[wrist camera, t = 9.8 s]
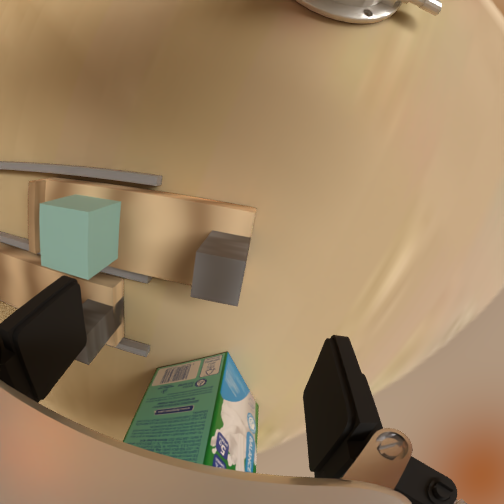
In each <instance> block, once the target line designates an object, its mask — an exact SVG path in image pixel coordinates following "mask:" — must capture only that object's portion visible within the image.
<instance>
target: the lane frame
mask: <svg viewBox="0 0 504 504" xmlns="http://www.w3.org/2000/svg"><path fill="white" fill-rule="evenodd" d="M0 169H7V170H21V171H34V172H45V173H56V174H66V175H75V176H84V177H93V178H101V179H109V180H117V181H125V182H132V183H139V184H146V185H153V186H158V185H161V182H162V176H161V175H153V174H146V173H138V172H130V171H122V170H113V169H104V168H94V167H84V166H72V165H60V164H46V163H29V162H6V161H0ZM0 242H3V243H6V244H9V245H12V246H15V247H18V248H21V249H24V250H27V251H29V240H28V239H25V238H21V237H18V236H14V235H11V234H8V233H4V232H1V231H0ZM37 254H40V255H41V253H40V252H39V253H37ZM100 272H104V273H107V274H111V275H115V276H119V277H123V278H127V279H131V280H135V281H139V282H143V283H148V282H149V281H150V280H151V279H152V277H151V276H147V275H143V274H139V273H134V272H130V271H126V270H122V269H118V268H114V267H110V266H107V267H105V268H104V269H102V270H101V271H100ZM1 301H2V300H1ZM3 302H4V301H3ZM5 303H6V302H5ZM7 304H8V303H7ZM9 305H10V304H9ZM11 306H12V305H11ZM13 307H14V306H13ZM15 308H16V307H15ZM17 309H18V308H17ZM106 345H107V344H106ZM109 346H110V345H109ZM112 347H113V346H112ZM115 348H118V349H121V350H124V351H127V352H131V353H134V354H137V355H141V356H144V357H147V355H148V353H149V352H150V345H147V344H144V343H140V342H137V341H133V340H130V339H126V338H122V339H121V341H120V342H119V343H118V345H117V346H116V347H115Z"/></svg>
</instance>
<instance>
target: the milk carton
mask: <svg viewBox="0 0 504 504" xmlns="http://www.w3.org/2000/svg"><path fill="white" fill-rule="evenodd" d="M258 407H259V406H258V404H257V403H256V401H255V399H254V397H253V396H252V394H251V392H250V391H249V389H248V387H247V385H246V384H245V382H244V380H243V378H242V376H241V375H240V373H239V371H238V369H237V367H236V366H235V364H234V362H233V360H232V358H231V356H230V355H229V353H228V352H225V353H222V354H218V355H214V356H210V357H206V358H202V359H197V360H193V361H189V362H184V363H180V364H175V365H171V366H166V367H161V368H157V370H156V372H155V374H154V376H153V378H152V380H151V382H150V384H149V386H148V388H147V390H146V392H145V395H144V397H143V399H142V401H141V403H140V405H139V407H138V409H137V412H136V414H135V416H134V418H133V420H132V422H131V425H130V427H129V429H128V431H127V433H126V435H125V438H124V440H123V442H125V443H127V444H130V445H133V446H136V447H139V448H142V449H145V450H149V451H152V452H155V453H159V454H162V455H166V456H169V457H173V458H177V459H181V460H185V461H189V462H193V463H198V464H203V465H208V466H213V467H218V468H224V469H230V470H236V471H243V472H251V473H256V456H257V433H258Z"/></svg>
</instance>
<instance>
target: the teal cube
mask: <svg viewBox="0 0 504 504" xmlns="http://www.w3.org/2000/svg"><path fill="white" fill-rule="evenodd" d="M120 210H121V201H115V200H109V199H102V198H96V197H89V196H83V195H76V194H75V195H71V196H67V197H63V198H59V199H55V200H51V201H47V202H43V203H40V211H39V225H40V253H41V265H42V266H45V267H48V268H51V269H54V270H57V271H60V272H64V273H67V274H70V275H73V276H77V277H80V278H83V279H87V280H89V279H90V278H92V277H93V276H94V275H96V274H97V273H98V272H100V271H101V270H102V269H104V268H105V267H107V266H108V265H109V264H111V263H112V262H113V261H115V260H116V259H118V240H119V223H120Z"/></svg>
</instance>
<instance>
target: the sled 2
mask: <svg viewBox="0 0 504 504" xmlns="http://www.w3.org/2000/svg"><path fill="white" fill-rule="evenodd" d="M75 194H76V195H83V196H89V197H96V198H102V199H109V200H115V201H121V210H120V223H119V240H118V259H116V260H115V261H113V262H112V263H111V264H109V265H108V266H110V267H114V268H118V269H122V270H126V271H130V272H134V273H139V274H143V275H147V276H151V277H156V278H160V279H165V280H169V281H173V282H178V283H183V284H187V285H192V289H191V297H194V298H199V299H204V300H208V301H213V302H218V303H223V304H228V305H233V306H238V302H239V297H240V292H241V286H242V281H243V276H244V271H245V266H246V261H247V255H248V250H249V245H250V239H251V234H252V229H253V224H254V219H255V214H256V209H257V208H253V207H248V206H243V205H237V204H232V203H227V202H221V201H215V200H210V199H204V198H198V197H193V196H187V195H181V194H174V193H168V192H162V191H155V190H149V189H142V188H135V187H128V186H121V185H114V184H106V183H99V182H91V181H83V180H74V179H65V178H56V177H52V178H46V179H40V180H34V181H29V188H28V237H29V252H31V253H34V254H37V253H39V252H40V225H39V211H40V203H43V202H47V201H51V200H55V199H59V198H63V197H67V196H71V195H75Z"/></svg>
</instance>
